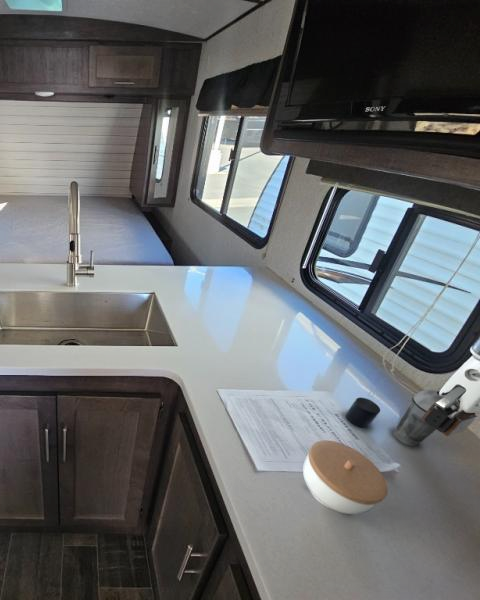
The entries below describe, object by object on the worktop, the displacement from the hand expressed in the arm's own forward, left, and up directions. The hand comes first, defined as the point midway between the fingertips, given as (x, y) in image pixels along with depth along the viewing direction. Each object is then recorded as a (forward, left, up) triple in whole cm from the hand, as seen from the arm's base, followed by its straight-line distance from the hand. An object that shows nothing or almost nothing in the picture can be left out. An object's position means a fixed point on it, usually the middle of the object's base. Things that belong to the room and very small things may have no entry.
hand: (443, 422), depth 64 cm
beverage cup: (-12, -6, -17) cm, 21 cm away
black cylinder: (-5, -13, -17) cm, 22 cm away
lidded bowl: (+20, 0, -17) cm, 27 cm away
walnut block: (0, 0, -1) cm, 1 cm away
